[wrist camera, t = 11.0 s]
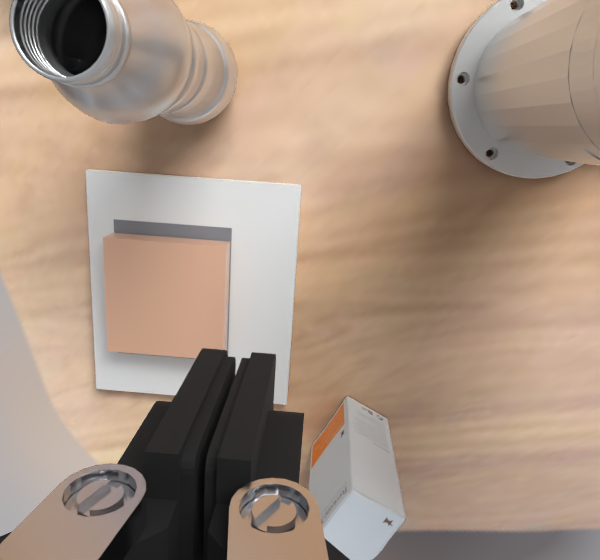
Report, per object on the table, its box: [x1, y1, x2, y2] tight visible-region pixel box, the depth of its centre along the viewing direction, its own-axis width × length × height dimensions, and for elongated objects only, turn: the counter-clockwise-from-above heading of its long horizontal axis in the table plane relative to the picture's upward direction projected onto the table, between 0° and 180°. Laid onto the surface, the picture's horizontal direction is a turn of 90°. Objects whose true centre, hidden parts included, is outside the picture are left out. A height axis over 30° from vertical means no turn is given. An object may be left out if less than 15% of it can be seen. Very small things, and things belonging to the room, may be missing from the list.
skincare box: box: [309, 396, 406, 560], centre depth 39 cm, size 6×4×12 cm
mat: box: [85, 169, 302, 405], centre depth 41 cm, size 16×18×1 cm
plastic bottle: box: [9, 0, 237, 125], centre depth 28 cm, size 6×7×20 cm
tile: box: [103, 233, 230, 358], centre depth 40 cm, size 2×9×9 cm
